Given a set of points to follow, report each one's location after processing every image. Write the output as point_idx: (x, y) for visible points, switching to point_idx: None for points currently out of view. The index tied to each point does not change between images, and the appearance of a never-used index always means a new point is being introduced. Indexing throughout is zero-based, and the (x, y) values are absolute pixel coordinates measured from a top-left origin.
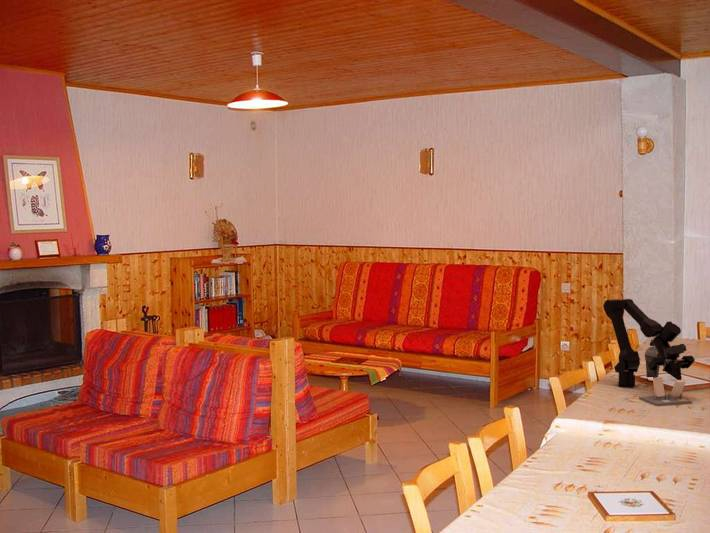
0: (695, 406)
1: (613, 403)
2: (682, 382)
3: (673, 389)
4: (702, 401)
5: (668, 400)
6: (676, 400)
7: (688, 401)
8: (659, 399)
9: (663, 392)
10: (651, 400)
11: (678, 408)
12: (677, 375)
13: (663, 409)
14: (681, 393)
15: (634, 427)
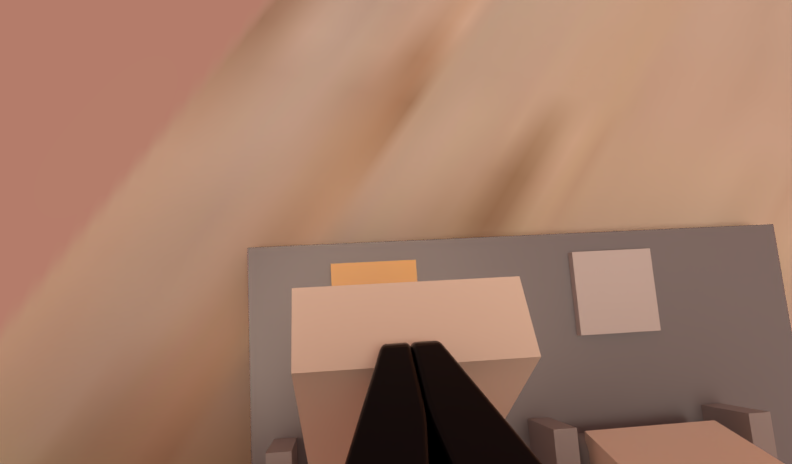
0: (297, 113)
1: None
2: (379, 294)
3: None
4: (11, 341)
5: (545, 351)
6: None
7: (301, 245)
8: None
9: (627, 453)
10: (768, 397)
11: (554, 77)
12: (504, 424)
13: (740, 77)
14: (282, 456)
15: None
